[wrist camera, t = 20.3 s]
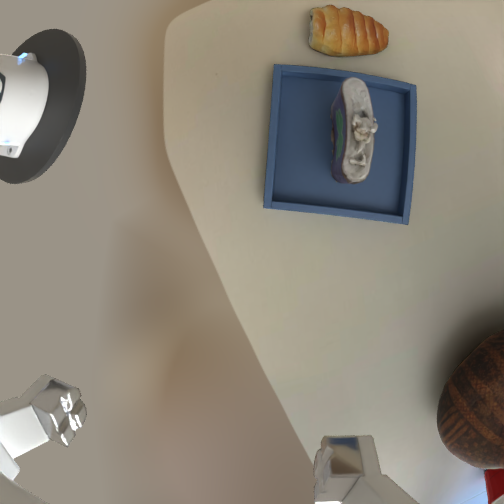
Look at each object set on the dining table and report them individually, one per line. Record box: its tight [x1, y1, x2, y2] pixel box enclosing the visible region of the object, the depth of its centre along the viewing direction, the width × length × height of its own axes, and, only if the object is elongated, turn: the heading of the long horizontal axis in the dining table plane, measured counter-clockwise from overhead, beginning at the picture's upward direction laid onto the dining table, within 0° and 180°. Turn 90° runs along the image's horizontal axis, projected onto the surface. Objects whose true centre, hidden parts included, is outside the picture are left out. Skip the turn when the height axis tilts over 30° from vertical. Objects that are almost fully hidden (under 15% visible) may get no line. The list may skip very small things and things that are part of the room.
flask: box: [330, 77, 378, 185], centre depth 25 cm, size 9×3×11 cm, turn 0°
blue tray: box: [263, 64, 417, 225], centre depth 30 cm, size 16×16×3 cm
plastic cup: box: [484, 468, 504, 504], centre depth 33 cm, size 11×11×12 cm
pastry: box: [309, 5, 389, 57], centre depth 26 cm, size 9×7×4 cm
